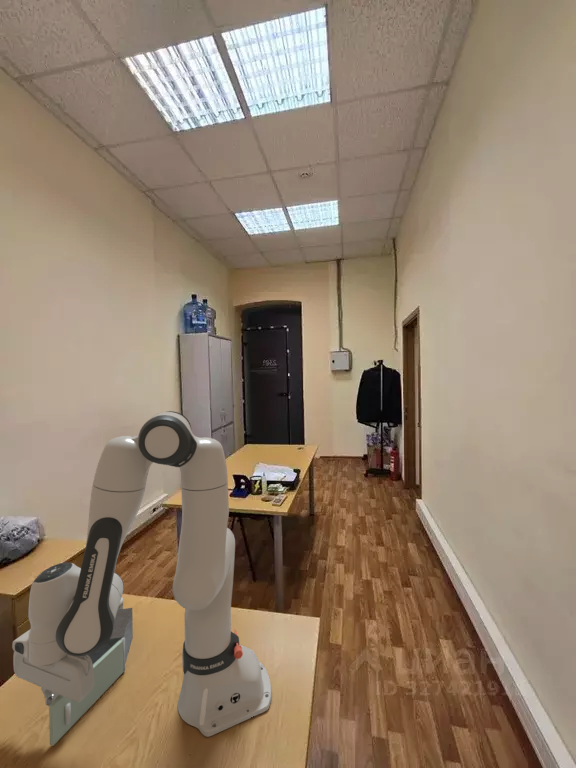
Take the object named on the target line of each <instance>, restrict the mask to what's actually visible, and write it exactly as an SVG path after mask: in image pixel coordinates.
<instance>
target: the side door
mask: <svg viewBox="0 0 576 768" xmlns="http://www.w3.org/2000/svg"><path fill="white" fill-rule="evenodd" d="M93 671H94V687H93V689H92V690H91V692H90V693H89V694H88V695H87V696H86V697H85V698H84V699H82V700H81V701H80V702H75V701H73V700H71V699H68V698H66V697H64V696H61V695H60V696H59V697H58V698H57V699H56V700H54V701H53V702H52V703H51V704H50V705H49V706H48V707H49V708H48V710H49V711H48V713H49V719H48V721H49V725H48V727H49V745H50V746H53V747H54V746H55V745H56V744H57V743H58V741H60V740H61V738H62V737H63V736H64V735H65V734H66V733H67V732H68V731H69V730H70V729H71V728H72V727H73V726H74V725H75V724H77V722H78V720H80V718H82V716H83V715H84V714H85V713H86V712H87V711H88V710H89V709H90V708H91V707H92V706H93V705H94V704H95V703H96V701H98V699H100V697H102V696H103V694H104V693H105V692H106V691H107V690H108V689H109V688H110V687H111V686H112V685H114V683H115V682H116V680H117V679H119V678H120V676H121V675H122V674H124V672H125V671H126V664H125V638H124V637H123V638H121V640H119V641H118V642H117V643H116V644H115V645H114V646H113V647H112V648H110V649H109V650H108V651H107V652H106V653H105V654H104V655H103V656H102V657H101V658H100V659H99V660H97V661H96V662H95V663H94V664H93Z"/></svg>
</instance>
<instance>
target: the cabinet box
mask: <svg viewBox="0 0 576 768" xmlns="http://www.w3.org/2000/svg"><path fill="white" fill-rule="evenodd" d="M133 621H134V619H133V607H128V608H123V609H120V610H118V611H117V614H116V618H115V621H114V627H113V632H112V635H111V637H110V639H109V641H108V642H107V643H106V645H105V646H103V647H102V648H101V649H100V650H98V651H96V652H94V653H92V654H89V655H88V656H89V657H90V658H91V660H92V664H94V663H95V662H96V661H97V660H99V659H100V658H101V657H102V656H103V655H104V654H105V653H106V652H107V651H108V650H109V649H110V648H112V647H113V646H114V645H115V644H116V643H117V642H118V641H119V640H121V638H123V637H124V638H125V665H126V662H127V659H128V656H129V653H130V652H129V651H130V648H131V645H132V642H133V641H132V640H133V637H134V636H133V633H134V632H133V630H134V629H133V627H134V626H133V624H134V623H133Z"/></svg>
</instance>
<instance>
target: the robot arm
mask: <svg viewBox="0 0 576 768" xmlns="http://www.w3.org/2000/svg"><path fill="white" fill-rule="evenodd" d="M153 463H154V464H158V465H164V466H170V467H175V468H179V470H180V484H181V485H180V488H181V489H180V490H181V527H180V533H179V534H180V535H179V544H178V549H177V550H178V552H177V562H176V567H175V568H176V569H175V573H174V578H173V583H172V595H173V598H174V600H175V601H176V602H177V604H178V605H179V606H180V607H181V608H183V609H184V642H183V645H182V652H181V653H182V655H181V656H182V657H181V658H182V660H181V661H182V664H181V666H182V670H183V671H182V672H183V675H182V677H183V678H182V683H181V684H182V685H181V690H180V694H179V697H178V700H177V701H178V702H177V711H178V714H179V716H180V718H181V719H182V720H183V722H185V723H186V724H187V725H189V726H192V727H195V728H197V729H198V730H199V731H200V733H201V734H202V735H203V736H204V737H207V738H209V737H211V736H214V735H216V734H218V733H221V732H222V731H225V730H227V729H230V728H232V727H234V726H237V725H239V724H240V723H243V722H246V721H247V720H249V719H251V717H252V718H254V717H256V716H258V715H260V714H263V713H265V712H267V711H268V710H269V708H270V706H271V703H272V684H271V679H270V676H269V672H268V670H267V668H266V667H265V666H264V664H263V663H262V662H261V661H259V658H258V656H257V654H256V653H255V652H254V650H253V649H252V648H249V647H246V646H245V645H242V644H241V643H240V637H239V636H238V632H237V629H236V628H234V632H233V631H232V597H233V588H234V587H233V586H234V585H233V584H234V571H235V557H236V556H235V555H236V553H235V552H236V538H235V535H234V533H233V531H232V530H231V529H230V528H229V527H228V524H229V514H230V511H229V510H230V509H229V507H230V506H229V479H228V468H227V460H226V454H225V451H224V447H223V445H222V444H221V442H220V441H219V440H217V439H215V438H213V437H200V436H196V435H195V434H194V433H193V431H192V425H191V423H190V420H189V419H188V418H187V417H186V416H185V415H184V414H182V413H180V412H178V411H172V410H169V411H163V412H160V413H157V414H154V415H153V416H152V417H150V418H149V419H148V420H147V421H146V422H145V423H144V424H143V425H142V427H141V428H140V429H139V433H138V435H120V436H116V437H113V438H111V439H110V440H108V442H106V444H105V445H104V448H103V450H102V453H101V454H100V458H99V460H98V462H97V465H96V466H97V467H96V470H95V473H94V476H93V477H94V478H93V482H92V486H91V493H90V502H89V510H88V511H89V513H88V522H87V523H88V524H87V533H86V542H85V549H84V553H83V559H82V562H81V567H79V566H78V565H76V564H75V563H73V562H69V561H68V562H66V561H65V562H59V563H57V564H54V565H52V566H50V567H48V568H46V569H44V570H43V571H42V572H40V573H39V574H38V575H37V576H36V577H35V579H34V580H32V581H33V582H32V583H31V586H30V592H29V597H28V599H29V600H28V621H29V623H30V624H29V625H30V629H29V630H27V631H26V632H24V633H22V634H21V635H20V636H18V637H17V638H16V639H14V640H13V641H12V650H13V660H12V661H13V663H12V664H13V672H14V674H15V676H16V677H17V678H18V679H21V680H23V681H26V682H29V683H31V684H33V685H35V686H38V687H41V689H40V690H41V692H42V695H43V696H44V698H45V705H46V706H48V707H49V705H50V704H51V703H52V702H53V701H54V700H56V699H57V698H58V697H59V696H60V695H61V696H64V697H66V698H68V699H71V700H73V701H75V702H80V701H81V700H82V699H84V698H85V697H86V696H87V695H88V694H89V693H90V692H91V690H92V689H93V687H94V671H93V664H92V660H91V658H90V657H89V656H88V655H89V654H92V653H94V652H96V651H98V650H100V649H101V648H102V647H103V646H105V645H106V643H107V642H108V641H109V639H110V637H111V635H112V632H113V627H114V621H115V618H116V614H117V611H118V608H119V604H120V601H121V598H122V597H123V594H124V590H125V589H124V588H125V585H124V581H123V579H122V577H121V576H120V575H119V574H118V573H117V572H115V571H116V567H117V560H118V558H119V554H120V552H121V550H122V549H121V548H122V546H123V543H124V542H125V540H126V538H127V535H128V533H129V531H130V529H131V527H132V526H133V523H134V522H135V520H136V517H137V514H138V512H139V510H140V508H141V506H142V505H141V504H142V502H143V499H144V494H145V491H146V485H147V480H148V475H149V471H150V468H151V466H152V465H153ZM253 716H254V717H253Z"/></svg>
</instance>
